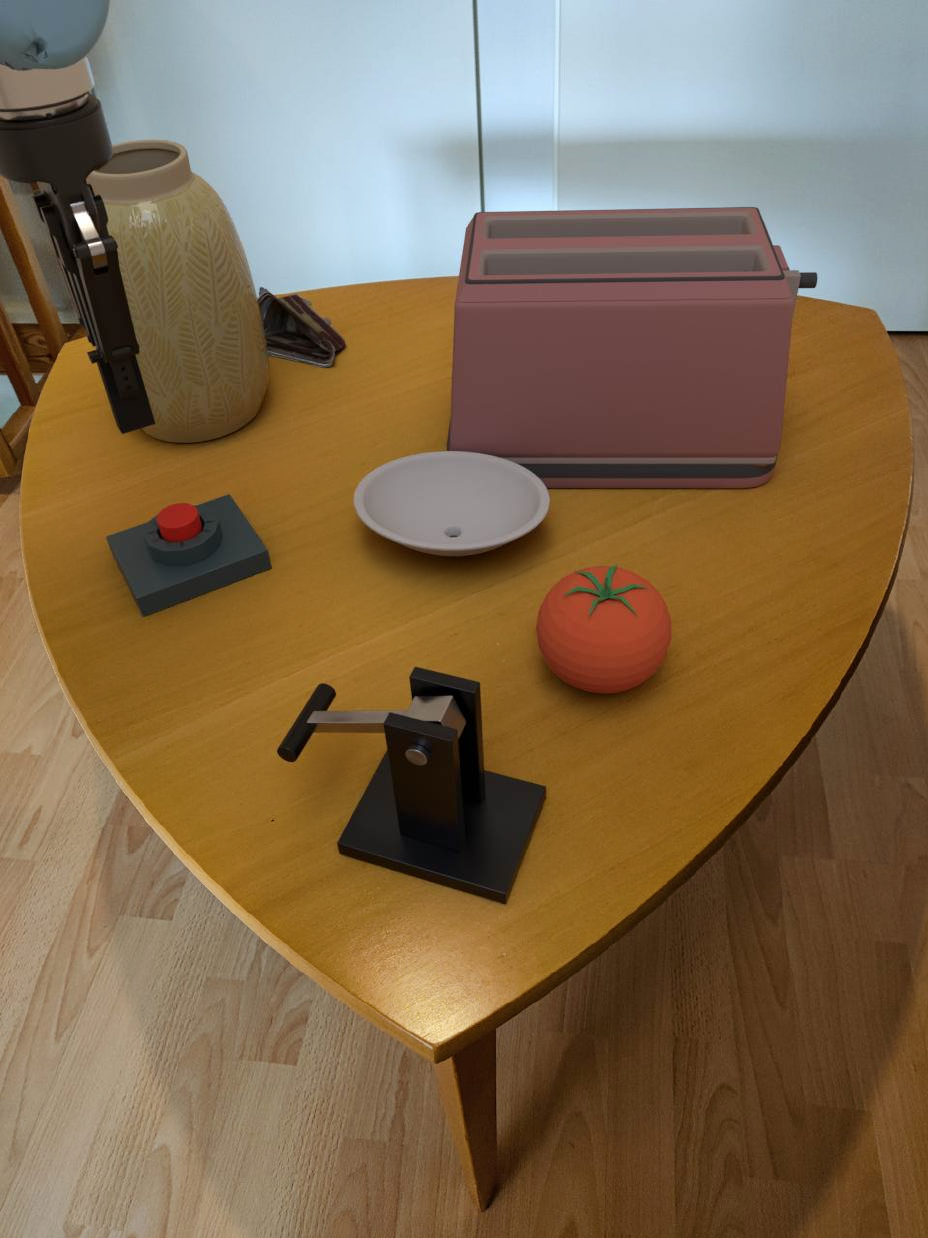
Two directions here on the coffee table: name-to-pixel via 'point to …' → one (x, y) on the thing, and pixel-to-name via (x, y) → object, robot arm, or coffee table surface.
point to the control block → (188, 557)
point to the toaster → (624, 346)
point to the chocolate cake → (297, 330)
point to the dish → (451, 502)
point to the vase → (184, 292)
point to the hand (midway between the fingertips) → (136, 424)
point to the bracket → (444, 801)
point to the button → (179, 522)
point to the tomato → (603, 629)
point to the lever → (361, 719)
